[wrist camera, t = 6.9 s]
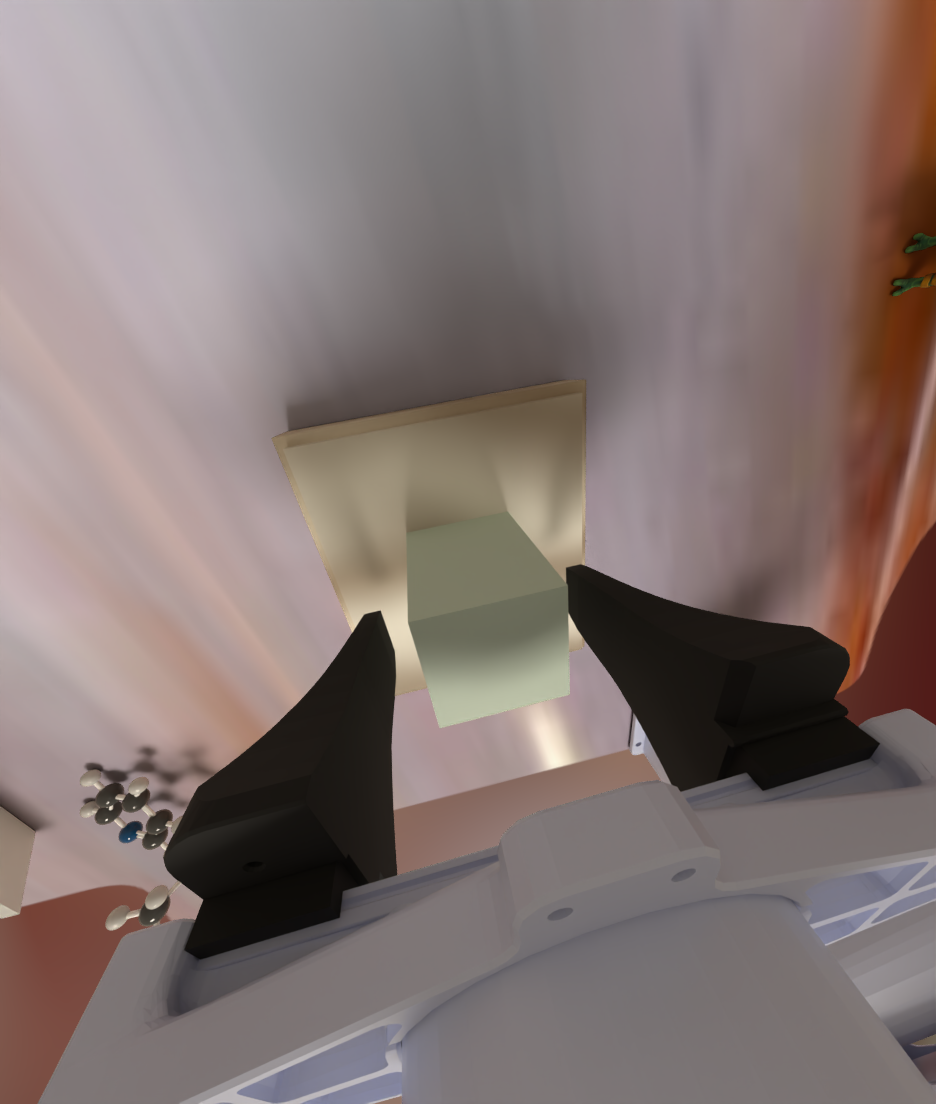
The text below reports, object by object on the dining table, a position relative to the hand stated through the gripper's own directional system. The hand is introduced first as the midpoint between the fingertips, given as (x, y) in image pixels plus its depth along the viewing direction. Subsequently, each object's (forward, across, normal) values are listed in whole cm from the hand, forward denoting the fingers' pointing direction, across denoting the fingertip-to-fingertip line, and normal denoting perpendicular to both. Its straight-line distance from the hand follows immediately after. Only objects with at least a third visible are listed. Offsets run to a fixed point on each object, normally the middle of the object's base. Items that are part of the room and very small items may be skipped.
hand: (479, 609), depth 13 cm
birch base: (+5, 0, 0) cm, 5 cm away
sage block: (+3, 0, 0) cm, 3 cm away
